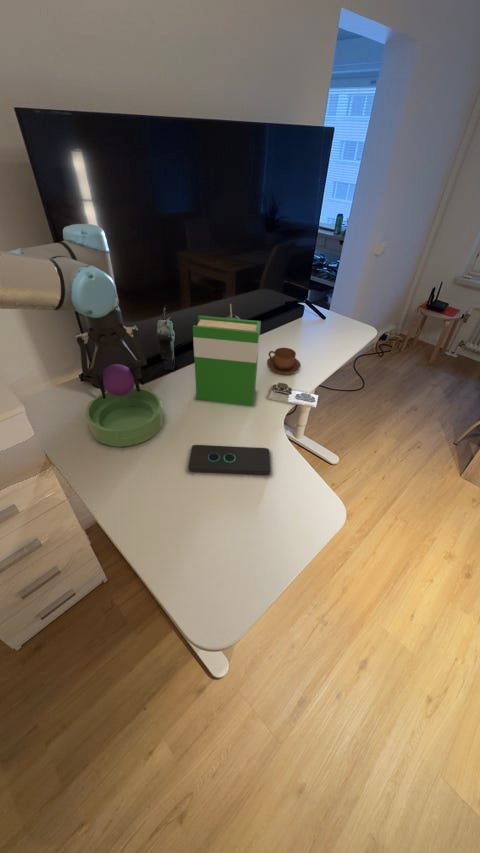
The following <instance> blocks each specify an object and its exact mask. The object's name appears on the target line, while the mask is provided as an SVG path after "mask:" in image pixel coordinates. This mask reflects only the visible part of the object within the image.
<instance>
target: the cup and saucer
mask: <svg viewBox="0 0 480 853" xmlns="http://www.w3.org/2000/svg"><path fill="white" fill-rule="evenodd" d="M271 354H274V355H273V356H272V355H271ZM296 356H297V353H296V350H294V349H292V348H289V347H279V348H277V349H275V350H270V351H268V357H269V358H268V359H267V360H266V365H267V367H268V368H269V369H270V370H271V371H272V372H275V373H276V374H280V375H281V374H282V375H290V374H291V375H292V374H294V373H296V372H298V371H299V370H300V368H301V367H302V366H301V362H300V361H299V360H298V359H297V358H296Z"/></svg>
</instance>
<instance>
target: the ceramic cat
mask: <svg viewBox="0 0 480 853" xmlns="http://www.w3.org/2000/svg"><path fill="white" fill-rule="evenodd" d="M162 312H163V313H164V319H165V313H166V308H165V307H164V306H163V311H162ZM170 318H171V317H169V318H168V319H166V320H161V319H159V320H157V322H156V339H157V338H158V339H157V343H159V344H158V348H159V353H160V357H161V360H162V359H165V360H166V359H167V360H170V361H171V362H173V359H174V360H175V349H174V341H175V332H174V330H173V323H172V321H170ZM174 368H175V366H174V367H173V368H168V369H164V370H166V371H172V370H175V369H174Z"/></svg>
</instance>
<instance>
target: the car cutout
mask: <svg viewBox="0 0 480 853" xmlns="http://www.w3.org/2000/svg"><path fill="white" fill-rule="evenodd" d="M318 399H319V394H314V393H309V392H304V391H299V390H293V389H292V388H291V387H290V386H289V385H288V384H287V383H284V382H278V383H277V384H272V387H271V391H270V392H269V395H268V400H273V401H277V402H283V403H288V404H293V405H298V406H303V407H308V408H313V409H316V408H317V404H318Z"/></svg>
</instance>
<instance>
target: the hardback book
mask: <svg viewBox="0 0 480 853" xmlns="http://www.w3.org/2000/svg"><path fill="white" fill-rule="evenodd" d="M261 325H262V321H261V320H252V319H250V320H249V319H243V318H242V319H241V318H240V319H231V318H226V317H219V316H209V315H198V316H197V325H195V324H193V326H192V341H193V358H194V359H193V360H194V375H195V376H194V377H195V397H196V400H200V401H209V402H217V403H227V404H235V405H245V406H251V407H253V406H254V401H255V394H256V385H257V375H258V361H259V350H260V339H261V338H260V337H261Z"/></svg>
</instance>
